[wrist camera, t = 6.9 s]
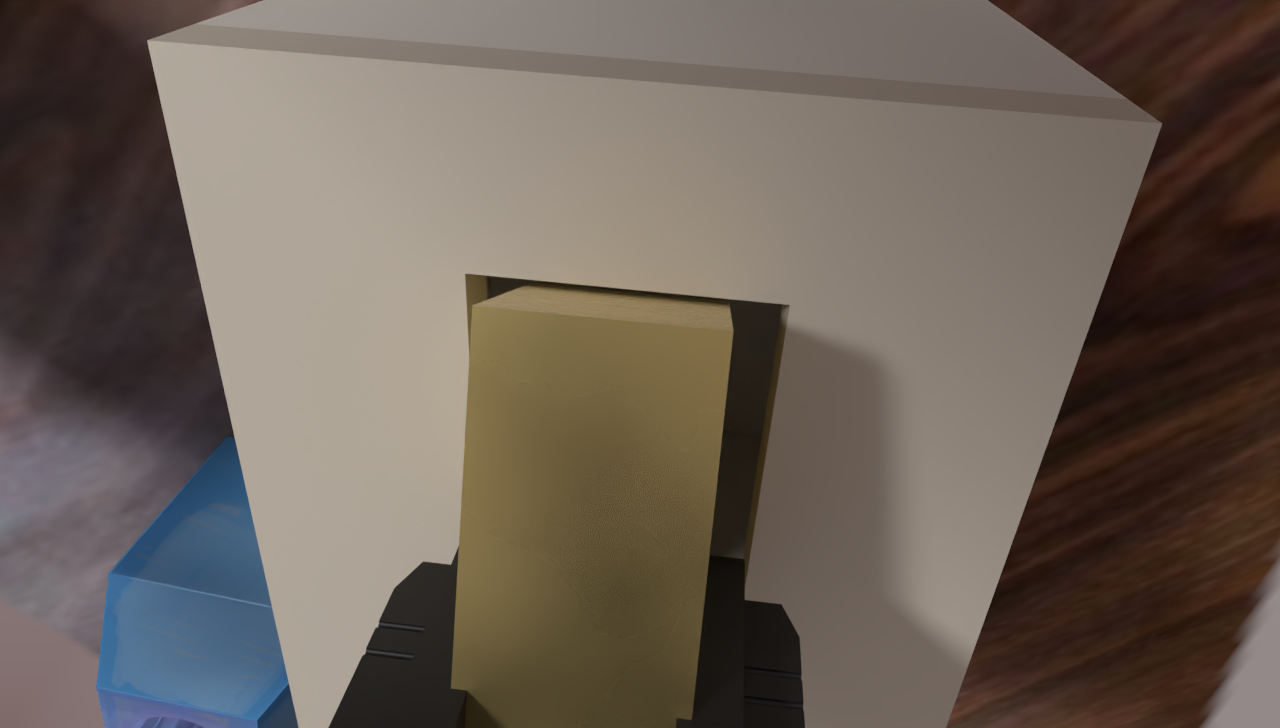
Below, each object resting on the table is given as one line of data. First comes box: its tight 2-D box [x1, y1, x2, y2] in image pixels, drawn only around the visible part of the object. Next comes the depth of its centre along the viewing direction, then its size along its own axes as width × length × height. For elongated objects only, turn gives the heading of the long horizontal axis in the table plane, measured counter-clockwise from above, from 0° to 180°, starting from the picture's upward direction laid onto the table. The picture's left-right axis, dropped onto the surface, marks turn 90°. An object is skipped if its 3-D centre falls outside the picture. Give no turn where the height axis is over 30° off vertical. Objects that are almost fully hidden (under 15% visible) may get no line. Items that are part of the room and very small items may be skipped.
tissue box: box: [147, 0, 1162, 728], centre depth 18 cm, size 13×11×12 cm
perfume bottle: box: [96, 436, 299, 728], centre depth 25 cm, size 6×6×12 cm
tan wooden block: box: [451, 281, 733, 728], centre depth 11 cm, size 6×2×5 cm, turn 177°
